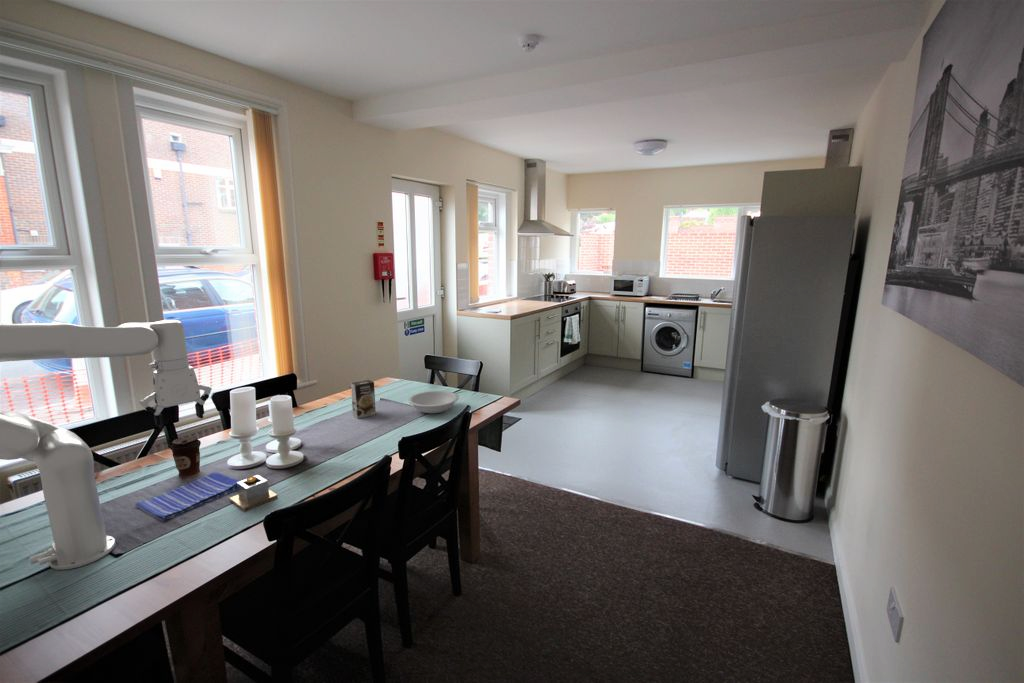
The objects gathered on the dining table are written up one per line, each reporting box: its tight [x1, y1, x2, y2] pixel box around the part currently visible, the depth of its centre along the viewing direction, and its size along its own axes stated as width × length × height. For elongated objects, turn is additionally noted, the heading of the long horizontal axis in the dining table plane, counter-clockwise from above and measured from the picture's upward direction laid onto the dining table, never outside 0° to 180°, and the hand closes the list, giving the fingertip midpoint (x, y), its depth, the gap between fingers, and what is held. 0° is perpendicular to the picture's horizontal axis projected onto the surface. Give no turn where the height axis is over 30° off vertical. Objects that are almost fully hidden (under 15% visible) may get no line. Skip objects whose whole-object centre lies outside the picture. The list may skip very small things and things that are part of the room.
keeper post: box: [229, 476, 278, 512], centre depth 145 cm, size 10×10×7 cm
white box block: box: [237, 474, 270, 504], centre depth 146 cm, size 6×6×5 cm
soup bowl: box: [407, 390, 460, 414], centre depth 225 cm, size 24×24×7 cm
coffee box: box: [350, 379, 377, 419], centre depth 219 cm, size 9×6×16 cm
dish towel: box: [135, 471, 241, 522], centre depth 148 cm, size 17×24×3 cm
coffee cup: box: [169, 436, 201, 479], centre depth 161 cm, size 9×8×13 cm
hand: (181, 422), depth 134 cm, fingers open, 9 cm apart
